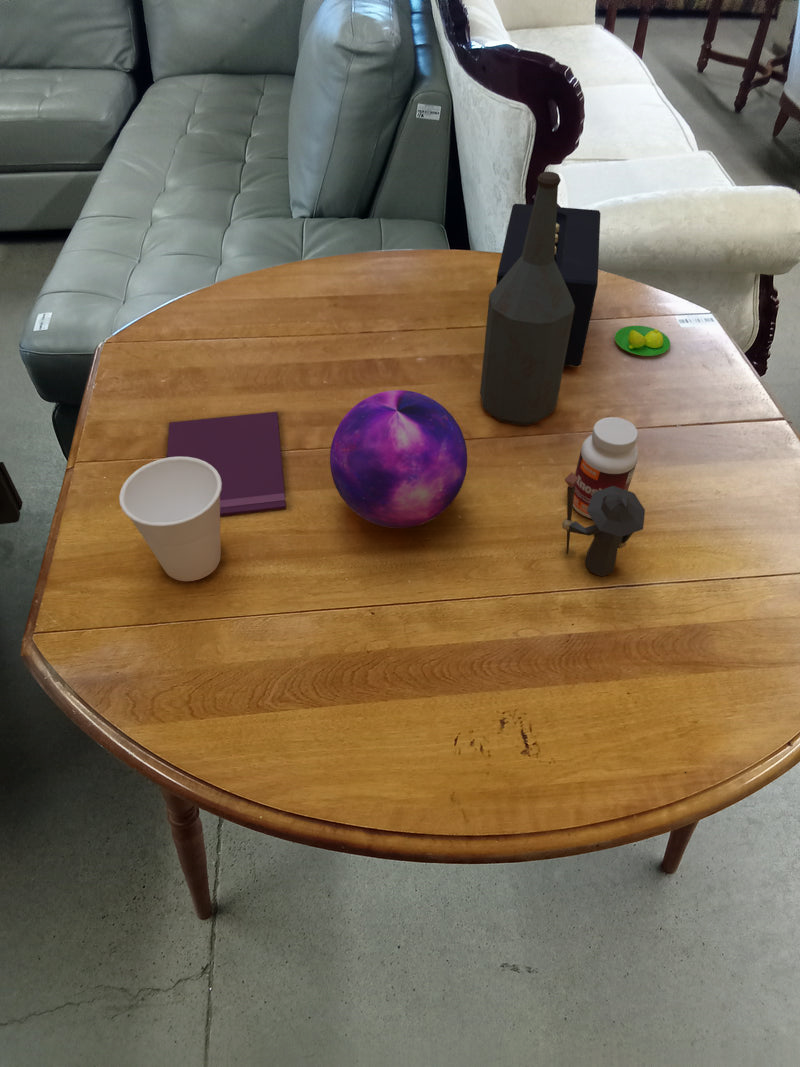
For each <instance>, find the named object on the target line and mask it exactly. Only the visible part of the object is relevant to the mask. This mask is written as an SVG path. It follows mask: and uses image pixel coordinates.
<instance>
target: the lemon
mask: <svg viewBox="0 0 800 1067" xmlns="http://www.w3.org/2000/svg"><path fill="white" fill-rule="evenodd" d="M614 341H615V343H616V344H617V345H618V346H619V348H620V349H622V350H624V351H626V352H628V353H631V354H634V355H638V356H644V357H650V356H652V357H653V356H658V355H661V354H664V353H666V352H667V351H668V350H669V349H670V347H671V342H670V339H669V337H668V336H667V335H666V334H665V333H664V332H662V331H661V330H659V329H658V328H653V327H651V326H646V325H629V326H624V327H622V328H620V329H618V330H617V331H616V333H615V335H614Z"/></svg>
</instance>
